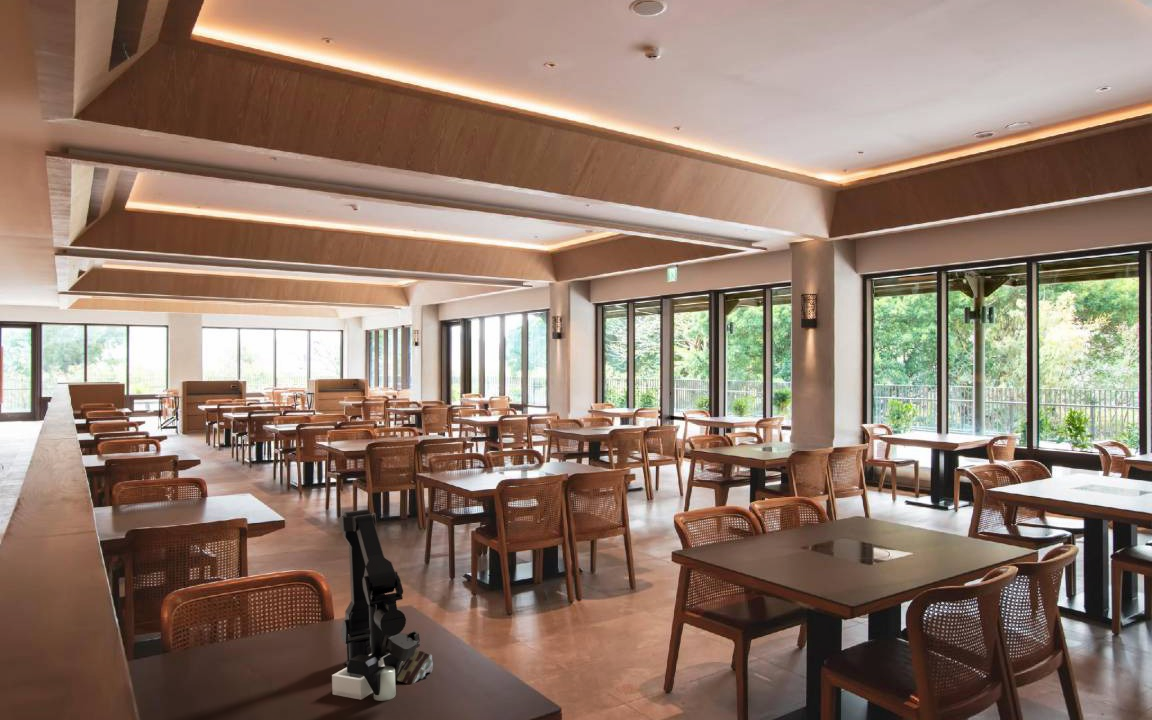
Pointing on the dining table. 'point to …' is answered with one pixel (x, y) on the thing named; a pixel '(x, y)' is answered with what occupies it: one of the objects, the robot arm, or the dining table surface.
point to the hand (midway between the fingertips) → (384, 690)
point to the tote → (351, 684)
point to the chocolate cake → (415, 667)
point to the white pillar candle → (387, 684)
